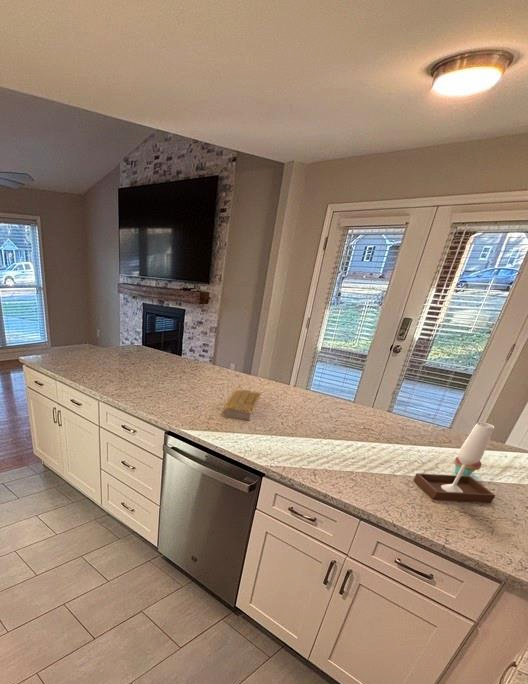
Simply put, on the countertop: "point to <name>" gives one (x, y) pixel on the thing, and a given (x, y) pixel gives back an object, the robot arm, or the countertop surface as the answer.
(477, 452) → the champagne flute
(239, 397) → the rafter model
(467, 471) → the cupcake
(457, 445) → the countertop surface
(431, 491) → the tray
